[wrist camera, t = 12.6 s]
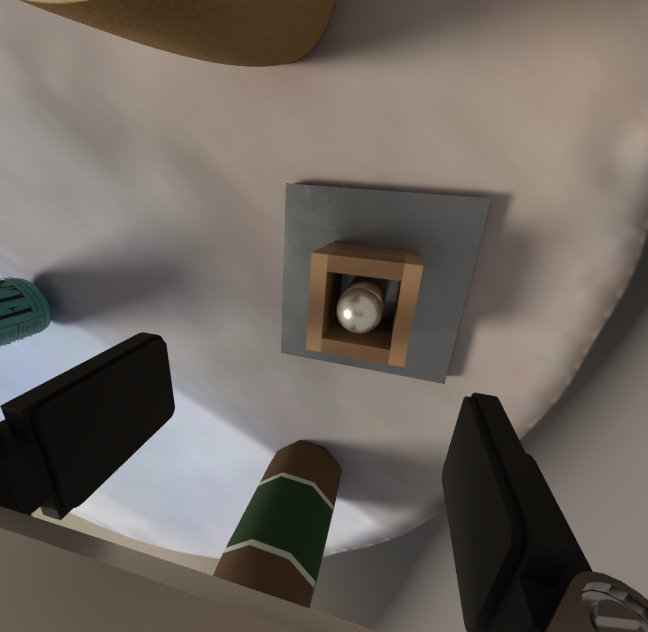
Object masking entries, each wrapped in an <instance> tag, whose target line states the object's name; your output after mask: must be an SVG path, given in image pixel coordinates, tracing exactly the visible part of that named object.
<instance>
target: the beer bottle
mask: <svg viewBox="0 0 648 632" xmlns="http://www.w3.org/2000/svg"><path fill="white" fill-rule="evenodd" d="M340 474H341V469H340V467H339V465H338V464H337V463H336V462H335V460H334V459H333V458H332V457H331V455H330V454H329V453H328V452H327V450H326V449H325V448H323V447H320V446H316V445H313V444H309V443H306V442H303V441H297V442H295V443H293V444H291V445H289V446H287V447H284V448H282V449H280V450H279V451H277V453H276V454H275V456H274V458H273V459H272V461H271V463H270V464H269V466H268V468H267V470H266V472H265V474H264V476H263V478H262V480H261V482H260V484H259V485H258V487H257V489H256V491H255V493H254V495H253V497H252V499H251V501H250V503H249V505H248V507H247V508H246V510H245V512H244V514H243V516H242V518H241V520H240V522H239V524H238V526H237V528H236V529H235V531H234V533H233V535H232V537H231V539H230V541H229V543H228V545H227V547H226V549H225V551H224V552H223V555H222V557H221V559H220V562H219V564H218V566H217V568H216V570H215V573H214V575H213V576H215V577H218V578H220V579H223V580H226V581H229V582H232V583H235V584H238V585H241V586H244V587H247V588H250V589H253V590H256V591H259V592H262V593H265V594H268V595H271V596H274V597H277V598H280V599H283V600H286V601H289V602H292V603H295V604H298V605H300V606H303V607H306V608H309V609H310V607H311V603H312V599H313V595H314V591H315V586H316V582H317V578H318V574H319V569H320V565H321V561H322V557H323V552H324V548H325V544H326V540H327V535H328V531H329V527H330V523H331V519H332V514H333V510H334V506H335V501H336V496H337V491H338V486H339V480H340Z"/></svg>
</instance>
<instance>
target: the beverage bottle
mask: <svg viewBox="0 0 648 632" xmlns="http://www.w3.org/2000/svg"><path fill="white" fill-rule="evenodd" d="M3 279H4V278H3ZM50 321H51V312H50V308H49V305H48V302H47V300H46V299H45V297H44V295H43V294H42V293H41V291H40V290H39V289H38V288H37V287H36V286H34V285H33V284H32V283H30V282H29V281H27V280H24V279H19V278H10V277H9V279H7V277H6V278H5V279H4V280H1V278H0V346H2V345H5V344H11V342H14V341H16V340H19V339H22V338H25V337H28V336H31V335H34V334H36V333H39V332H41V331H43V330H44V329H46V328H47V327H48V326H49V324H50ZM22 340H23V339H22ZM5 346H6V345H5Z"/></svg>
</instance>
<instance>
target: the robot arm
mask: <svg viewBox="0 0 648 632" xmlns="http://www.w3.org/2000/svg"><path fill="white" fill-rule="evenodd" d="M0 407H1V409H2V412H3V414H4V417H5V420H3V421H1V422H0V632H376V631H373V630H370V629H367V628H364V627H362V626H359V625H356V624H353V623H351V622H348V621H345V620H342V619H339V618H336V617H333V616H330V615H327V614H324V613H321V612H318V611H315V610H312V609H309V608H306V607H303V606H300V605H298V604H295V603H292V602H289V601H286V600H283V599H280V598H277V597H274V596H271V595H268V594H265V593H262V592H259V591H256V590H253V589H250V588H247V587H244V586H241V585H238V584H235V583H232V582H229V581H226V580H223V579H220V578H218V577H215V576H211V575H208V574H205V573H202V572H199V571H196V570H193V569H190V568H187V567H184V566H181V565H178V564H175V563H172V562H169V561H166V560H163V559H160V558H157V557H154V556H151V555H148V554H145V553H142V552H139V551H136V550H133V549H130V548H127V547H124V546H121V545H118V544H115V543H112V542H109V541H106V540H102V539H100V538H97V537H94V536H91V535H87V534H84V533H81V532H78V531H75V530H72V529H69V528H66V527H63V526H60V525H56V524H53V523H50V522H47V521H44V520H41V519H38V518H35V517H33V512H34V511H35V510H37V508H39V507H41V510H42V512H43V515H46V516H49V517H52V518H55V519H58V520H61V519H62V518H63V517H65V516H66V515H67V514H68V513H69V512H70V511H71V510H72V509H73V508H76V507H78V506H80V505H81V504H82V503H83V502H84V501H85V500H86V499H87V498H88V497H89V496H91V495H92V494H93V493H94V492H95V491H96V490H97V489H98V488H99V487H100V486H101V485H102V484H103V483H104V482H105V481H106V480H107V479H108V478H109V477H110V476H111V475H112V474H113V473H114V472H115V471H116V470H117V469H118V468H119V467H120V466H122V465H123V464H124V463H125V462H126V461H127V460H128V459H129V458H130V457H131V456H132V455H133V454H134V453H135V452H136V451H137V450H138V449H139V448H140V447H141V446H142V445H143V444H144V443H145V442H146V441H147V440H148V439H149V438H150V437H152V436H153V435H154V434H155V433H156V432H157V431H158V430H159V429H160V428H161V427H162V426H163V425H164V424H165V423H166V422H167V421H168V420H169V419H170V418H171V417H172V415H173V413H174V410H175V404H174V396H173V389H172V382H171V374H170V367H169V360H168V352H167V345H166V343H165V341H163V339H162V337H161V336H159V335H155V334H150V333H143V332H141V333H139V334H137V335H135V336H133V337H131V338H129V339H127V340H125V341H123V342H121V343H119V344H117V345H116V346H114V347H112V348H110V349H108V350H106V351H104V352H102V353H100V354H98V355H96V356H95V357H93V358H91V359H89V360H87V361H85V362H83V363H81V364H79V365H77V366H75V367H73V368H72V369H70V370H68V371H66V372H64V373H62V374H60V375H58V376H56V377H54V378H52V379H51V380H49V381H47V382H45V383H43V384H41V385H39V386H37V387H35V388H33V389H31V390H29V391H28V392H26V393H24V394H22V395H20V396H18V397H16V398H14V399H12V400H10V401H8V402H7V403H5V404H3V405H1V406H0ZM442 482H443V489H444V495H445V502H446V508H447V515H448V521H449V528H450V534H451V541H452V547H453V554H454V560H455V567H456V573H457V580H458V586H459V592H460V599H461V606H462V612H463V619H464V624H465V628H466V631H467V632H648V600H647V599H646V598H645V597H644V596H643V595H641V594H640V593H639V592H637V591H636V590H634V589H633V588H631V587H630V586H628V585H626V584H625V583H623V582H622V581H620V580H618V579H615V578H613V577H611V576H608V575H606V574H603V573H598V572H593V571H592V569H591V567H590V565H589V563H588V562H587V560H586V558H585V556H584V554H583V552H582V550H581V548H580V546H579V544H578V542H577V541H576V538H575V537H574V535H573V533H572V531H571V529H570V527H569V525H568V523H567V521H566V519H565V517H564V515H563V513H562V511H561V510H560V508H559V506H558V504H557V502H556V500H555V498H554V496H553V494H552V492H551V490H550V488H549V487H548V485H547V483H546V481H545V479H544V477H543V475H542V473H541V471H540V469H539V467H538V465H537V463H536V462H535V460H534V459H533V457H532V456H531V455H529V454H526V453H525V451H524V449H523V447H522V445H521V443H520V441H519V439H518V437H517V435H516V433H515V431H514V429H513V427H512V425H511V423H510V421H509V419H508V417H507V415H506V413H505V411H504V409H503V407H502V405H501V402H500V400H499V399H498V397H496V396H491V395H485V394H480V393H473V394H472V395H471V397H467V396H466V397H464V399H463V402H462V406H461V409H460V412H459V416H458V419H457V423H456V426H455V429H454V433H453V436H452V440H451V443H450V446H449V450H448V453H447V457H446V460H445V463H444V467H443V472H442Z"/></svg>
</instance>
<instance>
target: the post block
mask: <svg viewBox="0 0 648 632" xmlns="http://www.w3.org/2000/svg"><path fill="white" fill-rule="evenodd" d="M491 199H492V198H480V197H466V196H453V195H439V194H426V193H412V192H398V191H385V190H371V189H357V188H344V187H330V186H317V185H303V184H289V183H286V208H285V243H284V278H283V312H282V347H281V353H286V354H291V355H297V356H302V357H307V358H312V359H318V360H323V361H328V362H333V363H338V364H344V365H349V366H354V367H359V368H365V369H370V370H375V371H380V372H385V373H391V374H396V375H401V376H406V377H412V378H417V379H422V380H427V381H432V382H438V383H443V384H445V380H446V376H447V372H448V368H449V364H450V360H451V356H452V352H453V348H454V344H455V340H456V337H457V333H458V329H459V325H460V321H461V317H462V313H463V309H464V305H465V301H466V297H467V293H468V289H469V285H470V282H471V278H472V274H473V270H474V266H475V262H476V258H477V254H478V250H479V246H480V242H481V238H482V234H483V230H484V227H485V223H486V219H487V215H488V211H489V207H490V203H491ZM331 242H334V243H344V244H353V245H362V246H372V247H381V248H390V249H400V250H409V251H419V252H420V256H421V259H422V263H423V271H422V276H421V281H420V286H419V292H418V297H417V302H416V307H415V313H414V318H413V323H412V328H411V334H410V339H409V344H408V349H407V355H406V360H405V365H404V367H400V366H394V365H389V364H383V363H378V362H372V361H367V360H361V359H356V358H350V357H345V356H339V355H334V354H329V353H323V352H318V351H312V350H307V349H306V341H307V323H308V306H309V288H310V271H311V253H312V252H314V251H316V250H318V249H320V248H322V247H324V246H326V245H328V244H329V243H331ZM399 283H400V281H397V280H389V279H382V278H374V277H366V276H358V275H350V274H342V280H341V290H340V299H339V301H338V304H337V317H338V320H339V322H340V323H341V325H342V326H343V327H344V328H345V329H347V330H348V331H350V332H353V333H366V332H369V331H371V330H373V329H374V328H375V327H376V326H377V325H378V324H379V322H380V320H381V318H386V319H392V320H394V313H395V307H396V301H397V295H398V289H399Z"/></svg>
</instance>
